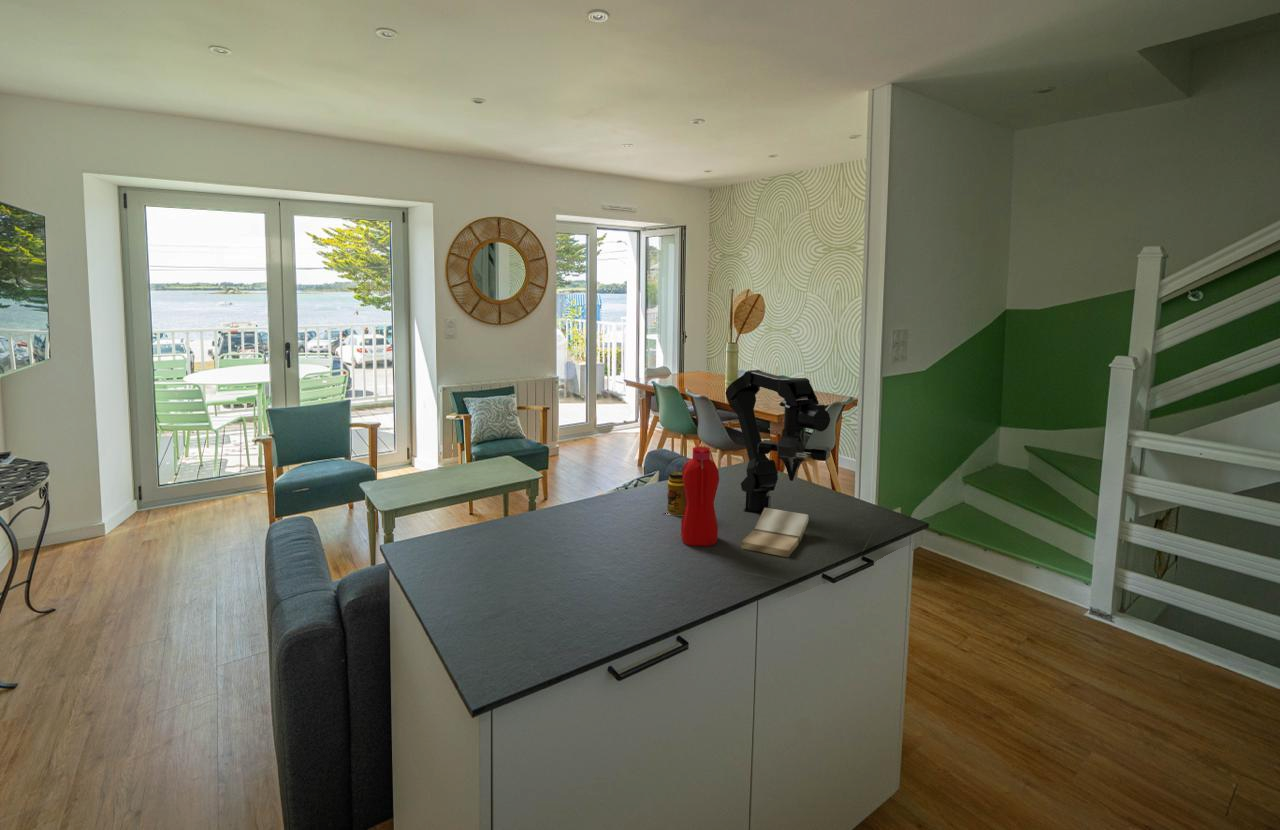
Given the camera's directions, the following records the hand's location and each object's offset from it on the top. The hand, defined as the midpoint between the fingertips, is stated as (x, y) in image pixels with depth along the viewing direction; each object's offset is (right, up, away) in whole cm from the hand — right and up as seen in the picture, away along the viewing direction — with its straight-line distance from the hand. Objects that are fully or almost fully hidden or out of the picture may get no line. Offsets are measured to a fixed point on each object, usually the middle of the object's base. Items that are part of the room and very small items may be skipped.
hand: (791, 480), depth 179 cm
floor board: (-8, -16, -13) cm, 22 cm away
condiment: (-30, -11, +14) cm, 35 cm away
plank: (-4, -12, -5) cm, 13 cm away
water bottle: (-26, -15, -10) cm, 32 cm away
